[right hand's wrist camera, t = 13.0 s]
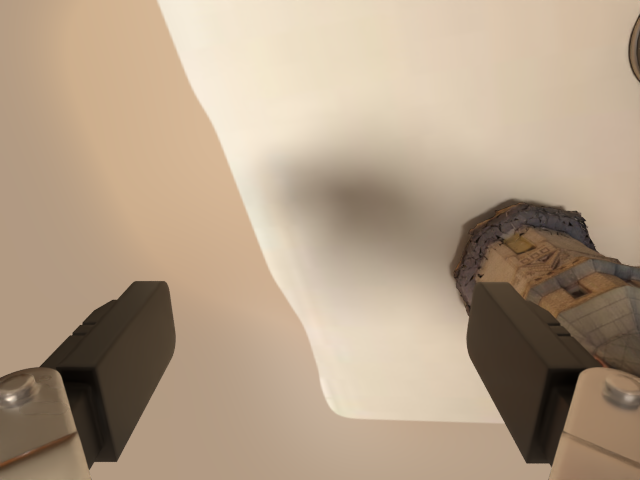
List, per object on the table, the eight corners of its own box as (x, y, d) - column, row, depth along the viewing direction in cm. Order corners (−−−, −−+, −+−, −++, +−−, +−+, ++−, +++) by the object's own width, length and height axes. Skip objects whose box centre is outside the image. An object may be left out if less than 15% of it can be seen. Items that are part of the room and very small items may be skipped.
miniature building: (596, 205, 43) (1112, 443, 15) (544, 320, 48) (861, 662, 20) (472, 180, 42) (775, 383, 14) (432, 300, 47) (598, 629, 19)
